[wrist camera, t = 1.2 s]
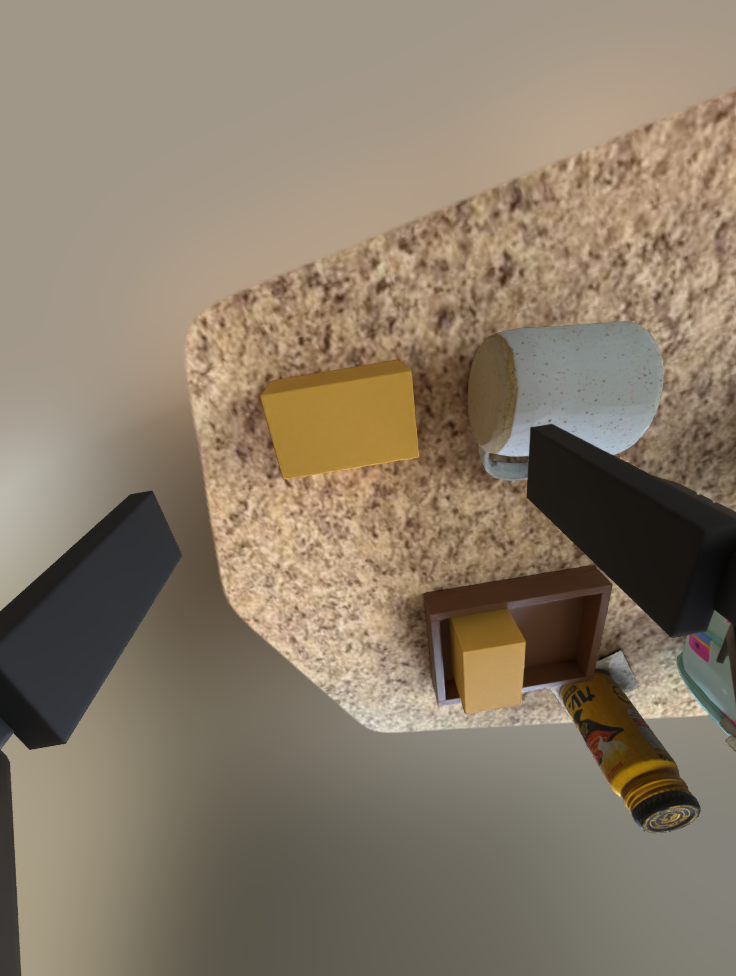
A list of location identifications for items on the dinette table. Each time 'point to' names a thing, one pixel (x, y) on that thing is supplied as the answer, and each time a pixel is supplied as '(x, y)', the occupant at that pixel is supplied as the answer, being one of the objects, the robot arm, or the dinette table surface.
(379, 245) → the dinette table surface
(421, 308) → the dinette table surface
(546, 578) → the frame
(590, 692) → the condiment
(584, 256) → the dinette table surface
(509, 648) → the pad seated
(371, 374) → the pad loose
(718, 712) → the lunch box
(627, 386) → the ceramic mug
